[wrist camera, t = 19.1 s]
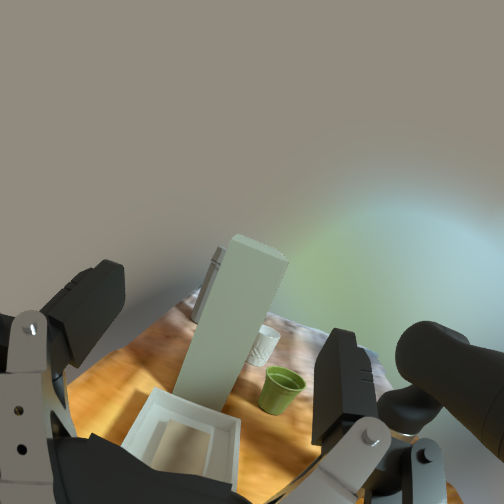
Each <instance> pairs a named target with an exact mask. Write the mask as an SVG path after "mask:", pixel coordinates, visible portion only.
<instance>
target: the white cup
mask: <svg viewBox="0 0 504 504" xmlns="http://www.w3.org/2000/svg"><path fill="white" fill-rule="evenodd" d="M280 337H281V335H280V334H279V333H278V332H277V331H276V330H274V329H272V328H270V327H268V326H265V325H262V326H261V328H260V330H259V332H258V334H257V337H256V339H255V341H254V343H253V345H252V348H251V350H250V352H249V354H248V356H247V358H246V360H245V361H246V362H248V363H249V364H251V365H254V366H257V367H262V366H264V365H265V363H266V362H267V360H268V358H269V357H270V355H271V353H272V352H273V350H274V348H275V346H276V344H277V343H278V341H279V339H280Z"/></svg>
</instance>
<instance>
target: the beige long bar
mask: <svg viewBox="0 0 504 504" xmlns="http://www.w3.org/2000/svg"><path fill="white" fill-rule="evenodd" d="M210 437H211V434H209V433H206V432H203V431H200V430H197V429H195V428H192V427H189V426H187V425H184V424H182V423H179V422H176V421H174V420H172V419H170V420H169V422H168V425H167V427H166V429H165V432H164V434H163V436H162V439H161V441H160V444H159V446H158V448H157V451H156V453H155V456H154V458H153V460H152V463H151V465H150V467H151V468H153V469H155V470H158V471H164V472H173V473H183V474H195V475H199V476H203V471H204V466H205V461H206V456H207V452H208V447H209V442H210Z"/></svg>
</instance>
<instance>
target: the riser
mask: <svg viewBox="0 0 504 504" xmlns="http://www.w3.org/2000/svg"><path fill="white" fill-rule="evenodd" d="M288 264H289V262H288V261H287V260H286V258H285V257H284V256H283V255H282V254H281V252H280V251H279V250H277V249H275V248H272V247H269V246H267V245H265V244H262V243H260V242H258V241H255V240H253V239H250V238H248V237H245V236H243V235H240V234H237V235H236V236H234V237H233V238H232V239H231V241H230V243H229V246H228V248H227V251H226V253H225V256H224V258H223V261H222V263H221V266H220V268H219V271H218V273H217V276H216V279H215V281H214V284H213V286H212V289H211V291H210V294H209V296H208V299H207V302H206V304H205V307H204V309H203V312H202V315H201V317H200V320H199V322H198V325H197V328H196V330H195V333H194V336H193V338H192V341H191V344H190V346H189V349H188V352H187V354H186V357H185V360H184V362H183V365H182V368H181V370H180V373H179V376H178V379H177V381H176V384H175V387H174V390H173V392H172V394H173V395H175V396H178V397H180V398H183V399H185V400H188V401H190V402H193V403H195V404H198V405H201V406H203V407H206V408H209V409H212V410H215V411H217V412H221V410H222V408H223V406H224V404H225V402H226V400H227V398H228V396H229V394H230V392H231V390H232V388H233V386H234V384H235V382H236V379H237V377H238V375H239V373H240V371H241V369H242V367H243V365H244V363H245V360H246V358H247V356H248V354H249V352H250V350H251V348H252V345H253V343H254V341H255V339H256V337H257V334H258V332H259V330H260V328H261V326H262V323H263V321H264V319H265V317H266V315H267V312H268V310H269V308H270V306H271V303H272V301H273V299H274V296H275V294H276V292H277V290H278V287H279V285H280V283H281V281H282V278H283V276H284V274H285V271H286V269H287V266H288Z"/></svg>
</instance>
